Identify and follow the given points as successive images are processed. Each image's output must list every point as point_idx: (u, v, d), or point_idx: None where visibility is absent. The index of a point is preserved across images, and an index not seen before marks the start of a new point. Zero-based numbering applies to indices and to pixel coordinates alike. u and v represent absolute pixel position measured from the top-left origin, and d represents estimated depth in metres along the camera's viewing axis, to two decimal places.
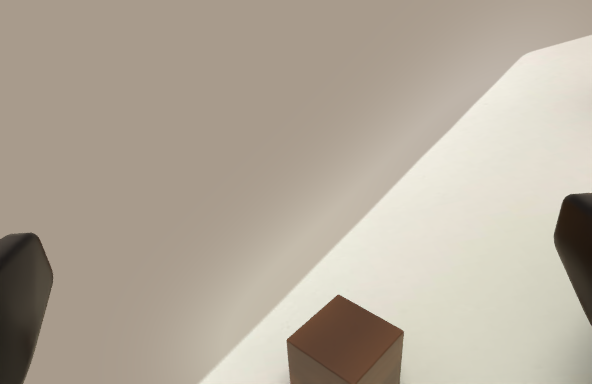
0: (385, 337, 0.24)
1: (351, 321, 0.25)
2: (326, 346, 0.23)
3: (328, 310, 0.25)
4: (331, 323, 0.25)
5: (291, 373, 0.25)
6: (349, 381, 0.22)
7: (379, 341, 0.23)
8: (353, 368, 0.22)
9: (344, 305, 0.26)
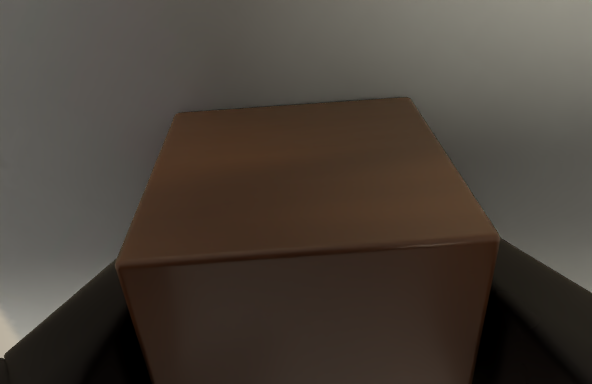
0: (451, 306, 0.06)
1: (286, 330, 0.06)
2: None
3: (172, 347, 0.06)
4: (233, 376, 0.06)
5: None
6: None
7: (438, 329, 0.06)
8: None
9: (194, 292, 0.05)
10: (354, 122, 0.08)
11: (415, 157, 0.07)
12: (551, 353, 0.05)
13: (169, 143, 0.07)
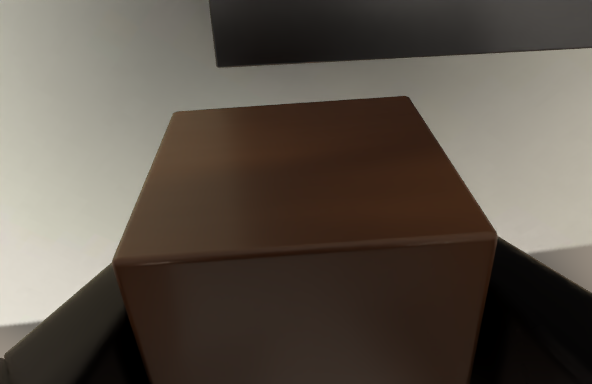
0: (448, 305, 0.06)
1: (284, 329, 0.06)
2: None
3: (169, 345, 0.06)
4: (231, 375, 0.06)
5: None
6: None
7: (436, 327, 0.06)
8: None
9: (190, 292, 0.05)
10: (352, 121, 0.08)
11: (413, 155, 0.07)
12: (551, 353, 0.05)
13: (167, 142, 0.07)
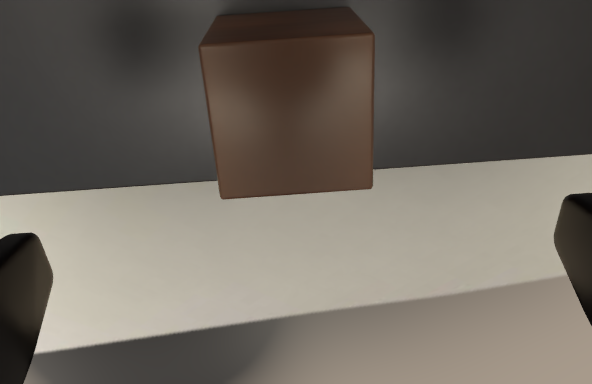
0: (355, 75, 0.12)
1: (277, 88, 0.12)
2: (285, 164, 0.13)
3: (221, 98, 0.12)
4: (251, 119, 0.12)
5: None
6: (362, 187, 0.13)
7: (351, 90, 0.12)
8: (351, 166, 0.13)
9: (234, 63, 0.11)
10: (316, 14, 0.14)
11: (345, 20, 0.13)
12: None
13: (215, 22, 0.14)
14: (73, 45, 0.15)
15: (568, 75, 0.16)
